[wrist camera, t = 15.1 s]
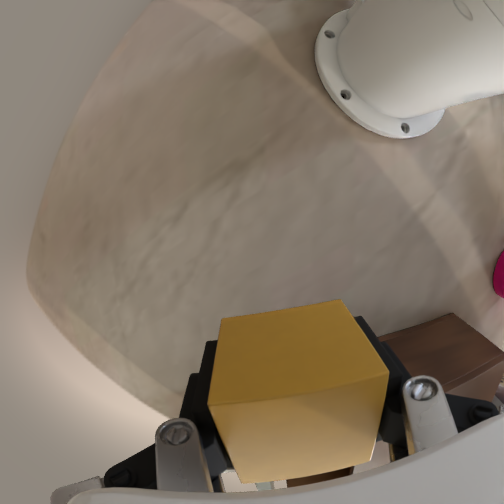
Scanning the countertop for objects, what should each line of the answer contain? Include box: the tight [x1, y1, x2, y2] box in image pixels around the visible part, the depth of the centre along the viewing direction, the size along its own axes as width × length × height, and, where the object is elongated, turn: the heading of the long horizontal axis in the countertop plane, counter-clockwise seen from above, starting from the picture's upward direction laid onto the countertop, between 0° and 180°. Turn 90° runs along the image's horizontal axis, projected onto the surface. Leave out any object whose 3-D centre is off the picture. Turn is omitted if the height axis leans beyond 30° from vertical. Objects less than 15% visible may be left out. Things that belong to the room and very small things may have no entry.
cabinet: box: [349, 313, 504, 475], centre depth 21 cm, size 15×13×10 cm
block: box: [207, 299, 389, 484], centre depth 9 cm, size 5×5×5 cm
